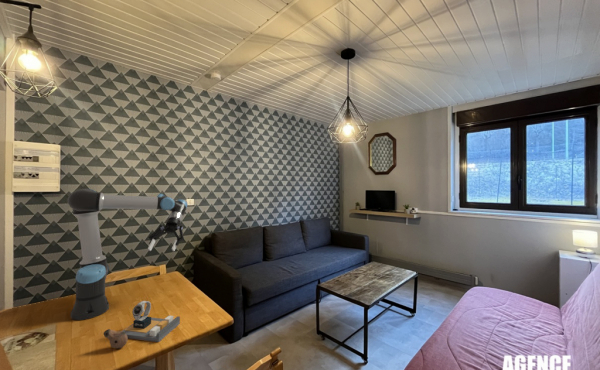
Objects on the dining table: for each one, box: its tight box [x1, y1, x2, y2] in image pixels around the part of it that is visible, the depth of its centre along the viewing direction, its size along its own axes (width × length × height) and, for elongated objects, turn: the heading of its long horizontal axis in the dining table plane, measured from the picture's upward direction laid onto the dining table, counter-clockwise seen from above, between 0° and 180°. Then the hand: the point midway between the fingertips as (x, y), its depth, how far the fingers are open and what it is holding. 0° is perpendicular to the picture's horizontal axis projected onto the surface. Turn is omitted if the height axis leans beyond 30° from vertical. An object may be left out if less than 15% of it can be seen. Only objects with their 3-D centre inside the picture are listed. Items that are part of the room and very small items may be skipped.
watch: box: [132, 300, 152, 329], centre depth 113 cm, size 6×8×11 cm
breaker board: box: [122, 315, 181, 343], centre depth 112 cm, size 20×14×4 cm
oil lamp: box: [103, 328, 129, 349], centre depth 100 cm, size 9×4×8 cm, turn 100°
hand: (161, 250), depth 140 cm, fingers open, 13 cm apart
